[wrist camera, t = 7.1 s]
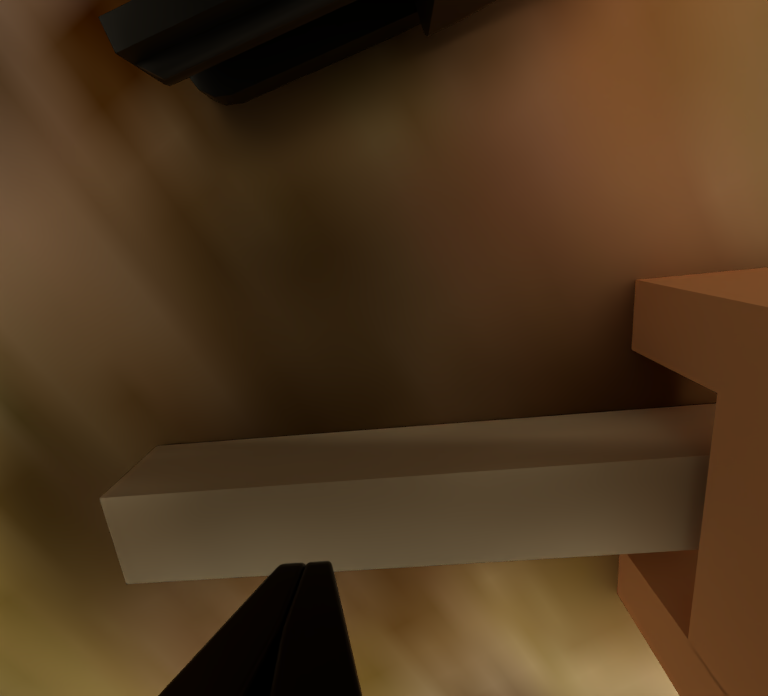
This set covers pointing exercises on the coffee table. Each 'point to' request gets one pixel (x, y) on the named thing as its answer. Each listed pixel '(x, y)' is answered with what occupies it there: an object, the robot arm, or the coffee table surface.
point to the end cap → (262, 37)
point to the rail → (416, 495)
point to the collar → (711, 487)
